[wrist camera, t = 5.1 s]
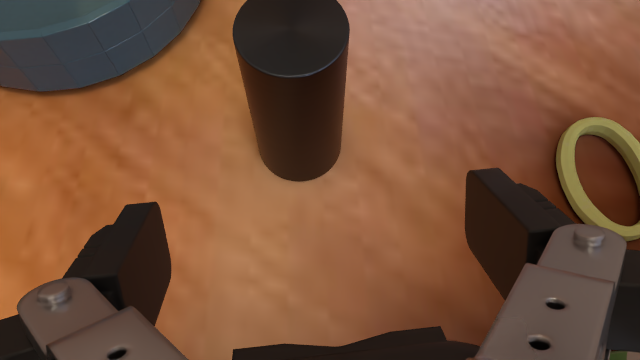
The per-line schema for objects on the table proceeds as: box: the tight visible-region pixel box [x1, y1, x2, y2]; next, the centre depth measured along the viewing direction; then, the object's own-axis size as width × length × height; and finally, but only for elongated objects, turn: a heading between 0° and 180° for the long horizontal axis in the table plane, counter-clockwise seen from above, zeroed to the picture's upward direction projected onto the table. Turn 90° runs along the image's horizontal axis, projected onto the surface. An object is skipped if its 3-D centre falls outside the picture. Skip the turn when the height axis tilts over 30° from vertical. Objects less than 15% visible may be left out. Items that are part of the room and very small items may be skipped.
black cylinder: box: [233, 0, 350, 181], centre depth 27 cm, size 5×5×10 cm
